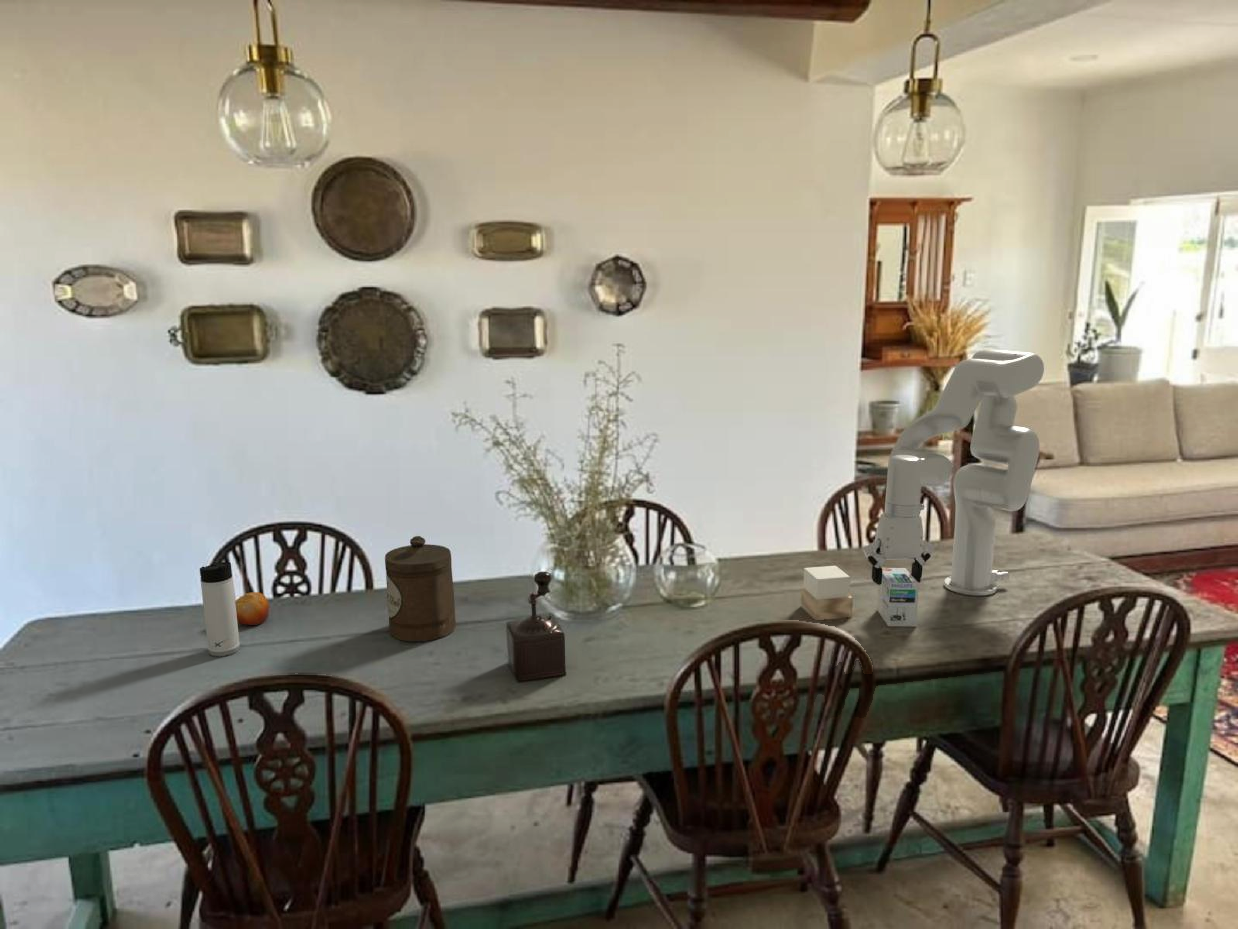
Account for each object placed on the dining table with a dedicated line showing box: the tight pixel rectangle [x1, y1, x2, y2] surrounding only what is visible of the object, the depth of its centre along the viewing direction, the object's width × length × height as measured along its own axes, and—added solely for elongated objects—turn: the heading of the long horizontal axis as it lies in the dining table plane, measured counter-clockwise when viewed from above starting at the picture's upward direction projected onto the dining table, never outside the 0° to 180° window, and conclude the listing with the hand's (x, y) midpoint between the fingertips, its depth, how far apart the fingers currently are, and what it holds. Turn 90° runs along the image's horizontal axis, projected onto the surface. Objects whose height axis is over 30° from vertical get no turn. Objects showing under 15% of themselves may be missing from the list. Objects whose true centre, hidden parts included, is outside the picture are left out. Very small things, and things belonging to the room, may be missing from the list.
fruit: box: [235, 591, 270, 626], centre depth 218 cm, size 8×8×8 cm
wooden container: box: [384, 535, 457, 643], centre depth 211 cm, size 15×15×22 cm
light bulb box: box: [876, 567, 920, 628], centre depth 216 cm, size 11×7×11 cm, turn 179°
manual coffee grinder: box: [505, 571, 567, 684], centre depth 193 cm, size 16×11×18 cm
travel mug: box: [199, 561, 241, 657], centre depth 200 cm, size 6×7×20 cm
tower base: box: [800, 587, 854, 621], centre depth 221 cm, size 9×9×5 cm
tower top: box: [803, 565, 851, 600], centre depth 220 cm, size 8×8×5 cm
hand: (896, 581), depth 215 cm, fingers open, 9 cm apart
